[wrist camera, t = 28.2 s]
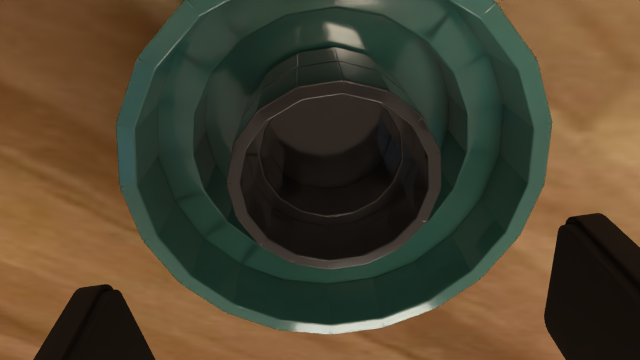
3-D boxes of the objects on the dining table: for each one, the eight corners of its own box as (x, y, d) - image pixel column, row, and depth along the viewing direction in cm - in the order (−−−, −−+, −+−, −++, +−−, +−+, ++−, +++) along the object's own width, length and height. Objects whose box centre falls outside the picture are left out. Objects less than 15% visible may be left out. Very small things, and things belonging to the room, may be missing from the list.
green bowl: (213, 267, 23) (190, 353, 18) (113, -24, 16) (34, -8, 11) (480, 230, 23) (529, 309, 18) (495, -87, 16) (580, -98, 11)
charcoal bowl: (263, 208, 21) (254, 280, 16) (227, 60, 17) (202, 101, 13) (412, 187, 20) (442, 254, 16) (405, 32, 17) (440, 64, 13)
